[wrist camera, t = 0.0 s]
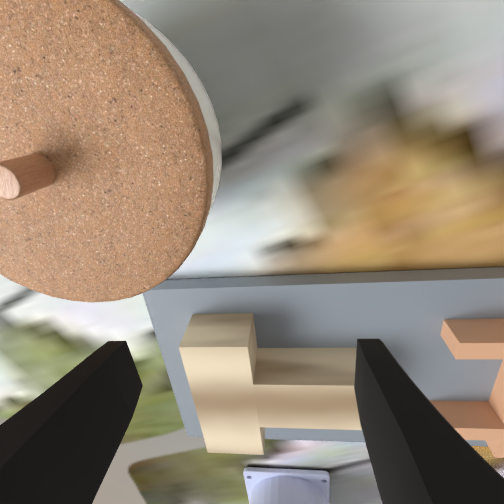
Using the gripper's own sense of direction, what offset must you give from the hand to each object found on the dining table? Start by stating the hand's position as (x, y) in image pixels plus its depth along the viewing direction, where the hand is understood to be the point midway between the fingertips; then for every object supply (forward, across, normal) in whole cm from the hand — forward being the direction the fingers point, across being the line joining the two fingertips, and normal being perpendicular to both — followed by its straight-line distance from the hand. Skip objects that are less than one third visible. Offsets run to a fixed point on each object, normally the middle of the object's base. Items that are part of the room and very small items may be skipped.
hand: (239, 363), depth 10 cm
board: (+10, -5, +10) cm, 15 cm away
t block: (+9, -1, +10) cm, 13 cm away
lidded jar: (+10, +6, -6) cm, 13 cm away
